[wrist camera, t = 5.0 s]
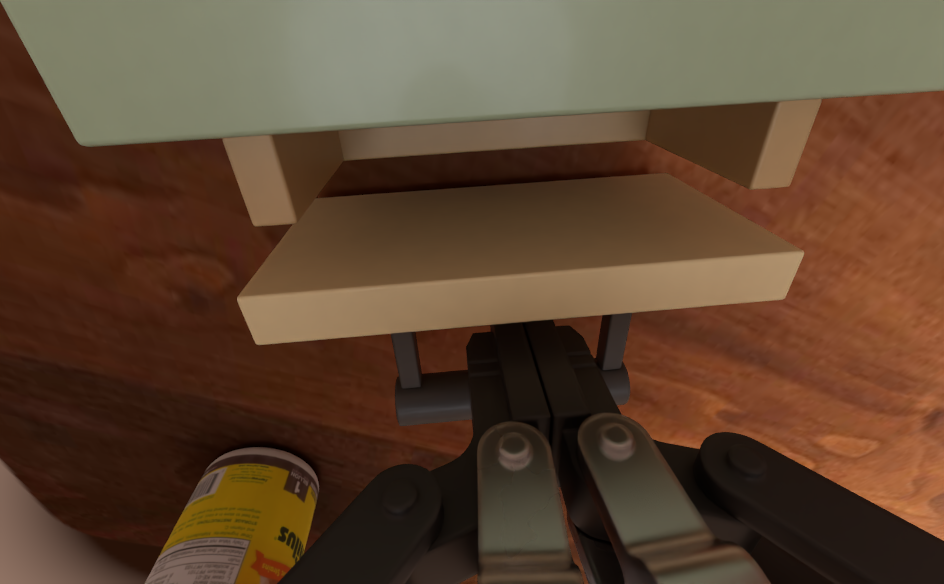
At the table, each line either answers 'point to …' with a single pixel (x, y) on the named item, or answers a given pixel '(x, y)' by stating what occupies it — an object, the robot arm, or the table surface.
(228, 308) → the table surface
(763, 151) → the drawer
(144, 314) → the table surface
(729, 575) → the robot arm
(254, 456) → the supplement bottle
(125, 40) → the cabinet
